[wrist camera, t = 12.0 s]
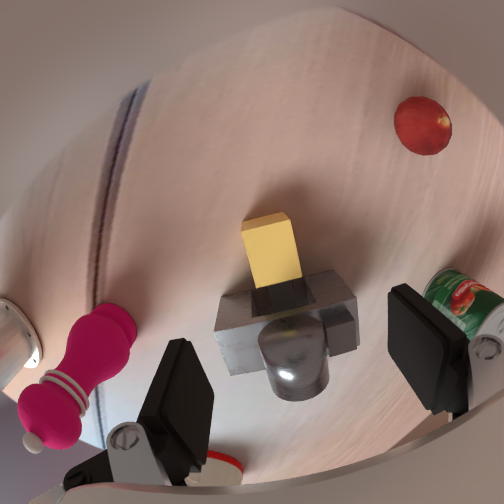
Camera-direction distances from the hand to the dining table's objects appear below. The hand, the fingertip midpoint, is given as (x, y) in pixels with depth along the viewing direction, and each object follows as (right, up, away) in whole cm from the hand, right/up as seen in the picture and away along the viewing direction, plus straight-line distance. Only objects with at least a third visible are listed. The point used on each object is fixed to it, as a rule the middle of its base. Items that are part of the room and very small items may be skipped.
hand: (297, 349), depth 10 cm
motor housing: (+2, -2, +19) cm, 19 cm away
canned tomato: (+23, -2, +20) cm, 31 cm away
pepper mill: (-18, -5, +20) cm, 28 cm away
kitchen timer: (-10, -36, +29) cm, 47 cm away
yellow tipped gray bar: (+2, -2, +19) cm, 20 cm away
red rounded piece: (+14, +16, +14) cm, 26 cm away
